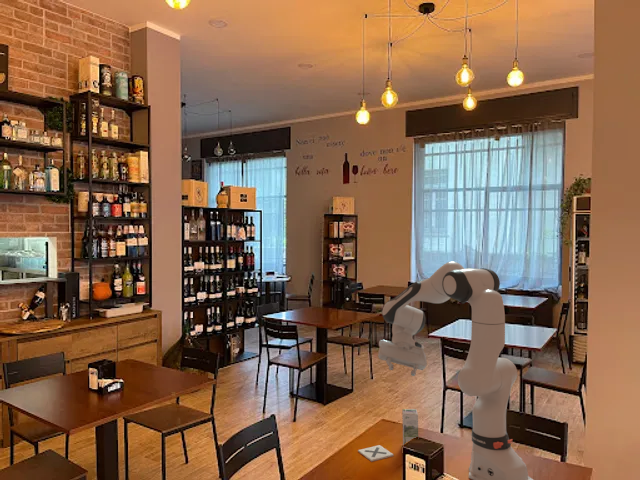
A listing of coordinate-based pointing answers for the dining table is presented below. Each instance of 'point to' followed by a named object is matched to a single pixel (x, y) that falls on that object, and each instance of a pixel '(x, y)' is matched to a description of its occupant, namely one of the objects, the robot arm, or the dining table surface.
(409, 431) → the syrup box
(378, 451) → the letter card
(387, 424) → the dining table surface
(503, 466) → the robot arm
